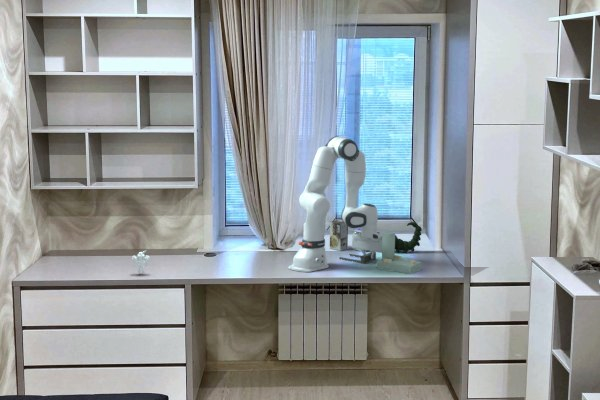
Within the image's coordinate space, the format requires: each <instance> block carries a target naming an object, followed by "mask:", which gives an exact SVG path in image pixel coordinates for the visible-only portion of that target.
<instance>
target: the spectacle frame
mask: <svg viewBox="0 0 600 400" xmlns="http://www.w3.org/2000/svg"><path fill="white" fill-rule="evenodd" d="M349 255H350V257H353V256H355V257H354V258H359V257H360V258H359V259H360V260H359V259H354V258H349V257H343V256H340V257H338V258H339V260H341V259H342V260H341V261H347V260H348V261H347V262H352V261H353V262H354V263H357V264H358V263H360V264H363V265H365V264H368V263H370V262H371V263H372V262H373V261H375V260H376V261H377V252H375V254H374V256H373V259H370V256H371V255H372V253H371V251H369V252H368V253H366V254H365V255H363V254H362V255H360V254H354V253H349V254H348V256H349Z"/></svg>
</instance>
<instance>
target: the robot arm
mask: <svg viewBox="0 0 600 400" xmlns="http://www.w3.org/2000/svg"><path fill="white" fill-rule="evenodd" d="M313 158H314V159H313V162H312V166H311V170H310V174H309V178H308V181H307V183H306V185H305V186H304V187H305V188H304V190H303V191H302V193H301V194H300V196H299V198H298V203H299V205H300V207H301V208H302V210H304V211H305V212H306V218H305V221H304V223H303V238H302V240H299V241H298V243H297V244H298V246H301V247H300V248H299V249H298V250H297V252H296V254H295V255H294V256H293V259H292V264H291V265H290V264H289V265H288V268H287V269H289V270H292V271H296V272H304V273H311V272H314V271H320V270H324V269H328V268H329V264H328V259H327V257H328V256H327V251H326V248H325V246H326V240H325V224H326V219H327V214H328V213H329V211H330V209H331V203H330V201H329V200H328V198H327V197H326V196H325V195H324V194H325V192H326V189H327V188H328V186H330V183H331V179H332V175H333V171H334V166H335V163H336V161H337V160H338V159H343V161H344V164H345V165H344V167H345V168H344V180H345V203H344V207H343V209H342V211H341V214H340V218H341V221H343V222H344V223H345V224H346V225H347V226H348V228H349V229H356V228H360V227H361V232H354V233H353V232H352V234H351V235H352V239H351V247H352V248H355V249H362V251H361V253H362V255H365V254H367V253H366V252H371V253H372V255H371V256H370V259H373V256H374V254H375V252H376V253H381V254H382V235H383V233H384V232H382V231H380V230H378V224H377V223H378V219H379V218H378V209H377V207H376V206H375V205H374V204H371V203H363V204H361V205H360V206H358V194H359V190H360V189H361V187H362V186H364V183H365V179H366V172H367V170H366V169H367V168H366V166H367V164H366V157H365V153H364V152H363V151H362V150H359V148H358V144H357V143H356V141H354V140H352V139H351V138H348V137H345V136H337V135H336V136H333V137H331V138H330V139H329V140H328V141H327V143H326V144H325V145H323V146H320V147H319V148H318V149H317V151H316V154H315V156H314V157H313ZM366 250H368V251H366ZM365 251H366V252H365Z"/></svg>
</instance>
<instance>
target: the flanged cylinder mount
mask: <svg viewBox="0 0 600 400" xmlns="http://www.w3.org/2000/svg"><path fill="white" fill-rule="evenodd" d="M382 233H383V235H382V253H381V259H379V260H376V269H380V270H385V271H392V272H394V273H395V272H397V273H401V274H408V275H412V274H415V273H417V272H419V271H421V270H422V267H423V266H422V263H423V262H422V261H418V260H417V261H416V260H414V259H412V260H411V259H405V258H402V255H398V254H397V255H396V254H395V252H396V250H395V235H396V233H395V232H391V231H390V232H388V231H387V232H382ZM414 272H415V273H414Z"/></svg>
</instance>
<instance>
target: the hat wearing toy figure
mask: <svg viewBox="0 0 600 400" xmlns="http://www.w3.org/2000/svg"><path fill="white" fill-rule="evenodd" d="M146 252H147V249H145V250H142V251H140V252H138V253H137V255H132V257H131V261H134V262H133V264H132V267H133V268H134V267H135V266H136V264H137V273H136V274H137V275H141V274H142V275H145V274H146V270H145V267H146V268H149V266H150V264H149V262H148V261H150V256H149V255H145V253H146Z"/></svg>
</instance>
